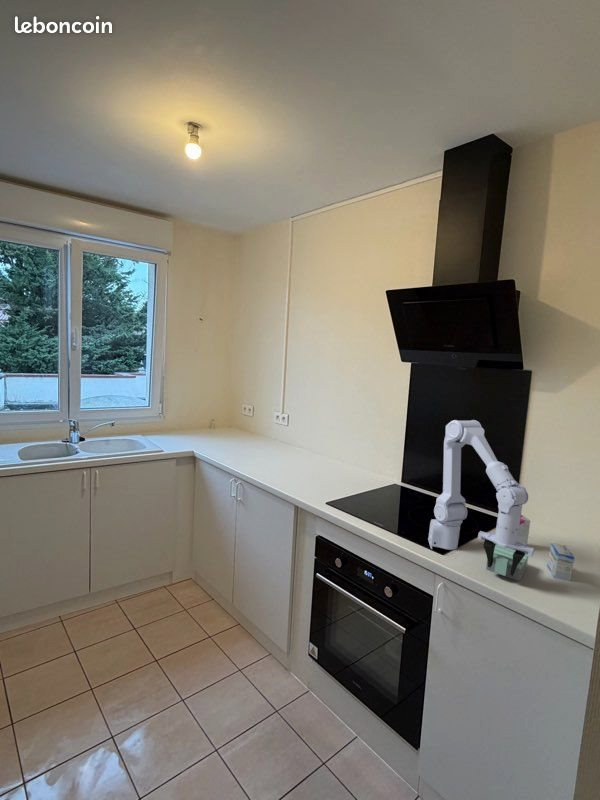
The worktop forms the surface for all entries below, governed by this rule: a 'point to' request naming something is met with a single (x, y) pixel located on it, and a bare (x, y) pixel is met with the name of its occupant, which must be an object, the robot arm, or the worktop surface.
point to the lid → (505, 559)
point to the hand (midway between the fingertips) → (500, 570)
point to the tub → (516, 575)
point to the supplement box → (523, 530)
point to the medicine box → (560, 562)
